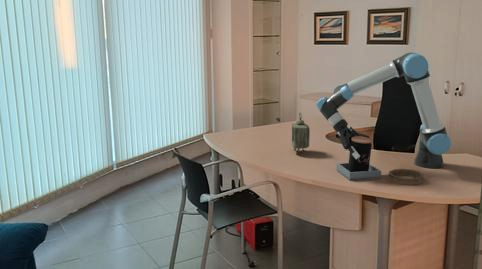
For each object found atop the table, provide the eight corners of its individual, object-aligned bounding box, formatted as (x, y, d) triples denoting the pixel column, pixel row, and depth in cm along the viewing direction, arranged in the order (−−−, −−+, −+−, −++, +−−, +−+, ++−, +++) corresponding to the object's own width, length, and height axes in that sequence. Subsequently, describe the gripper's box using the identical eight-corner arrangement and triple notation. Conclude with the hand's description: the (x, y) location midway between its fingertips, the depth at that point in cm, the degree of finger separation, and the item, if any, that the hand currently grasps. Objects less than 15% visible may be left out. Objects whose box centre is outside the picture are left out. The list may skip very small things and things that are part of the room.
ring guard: (411, 173, 253) (412, 167, 252) (429, 183, 237) (430, 177, 236) (383, 175, 249) (383, 170, 249) (399, 185, 234) (399, 180, 233)
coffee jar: (357, 176, 244) (361, 142, 240) (343, 170, 254) (346, 137, 249) (372, 173, 250) (376, 140, 245) (358, 167, 259) (362, 135, 254)
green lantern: (291, 149, 302) (292, 110, 296) (305, 149, 302) (306, 110, 296) (294, 155, 287) (295, 114, 282) (309, 155, 288) (310, 114, 282)
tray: (365, 168, 261) (366, 161, 261) (380, 178, 245) (381, 170, 244) (336, 170, 258) (336, 163, 257) (349, 180, 242) (349, 173, 241)
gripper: (343, 123, 265) (368, 154, 259) (322, 131, 246) (347, 164, 241) (353, 114, 261) (378, 146, 255) (331, 122, 242) (358, 156, 236)
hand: (363, 155), depth 248 cm, fingers open, 12 cm apart
